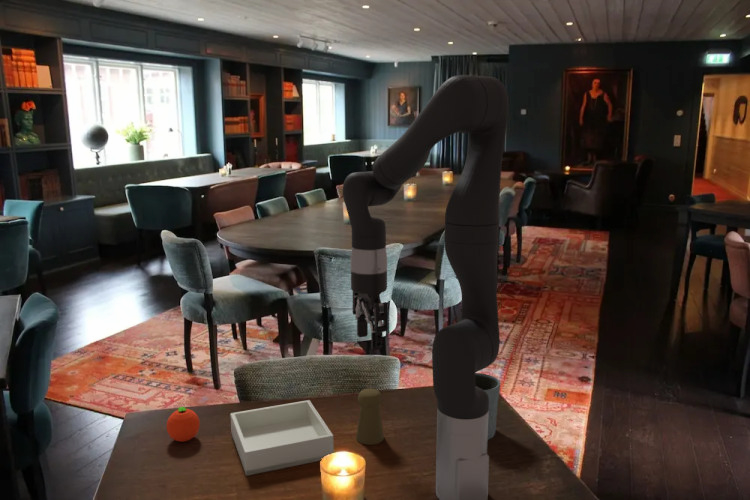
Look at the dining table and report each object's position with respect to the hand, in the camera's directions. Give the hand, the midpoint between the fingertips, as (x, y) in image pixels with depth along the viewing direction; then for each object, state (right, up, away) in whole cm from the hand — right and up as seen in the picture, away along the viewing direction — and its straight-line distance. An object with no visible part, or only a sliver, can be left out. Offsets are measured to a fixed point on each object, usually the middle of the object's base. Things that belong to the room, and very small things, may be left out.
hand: (369, 342), depth 133 cm
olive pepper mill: (0, -22, +5) cm, 22 cm away
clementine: (-41, -22, +5) cm, 46 cm away
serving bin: (-19, -22, +1) cm, 29 cm away
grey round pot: (+24, -21, +7) cm, 33 cm away
